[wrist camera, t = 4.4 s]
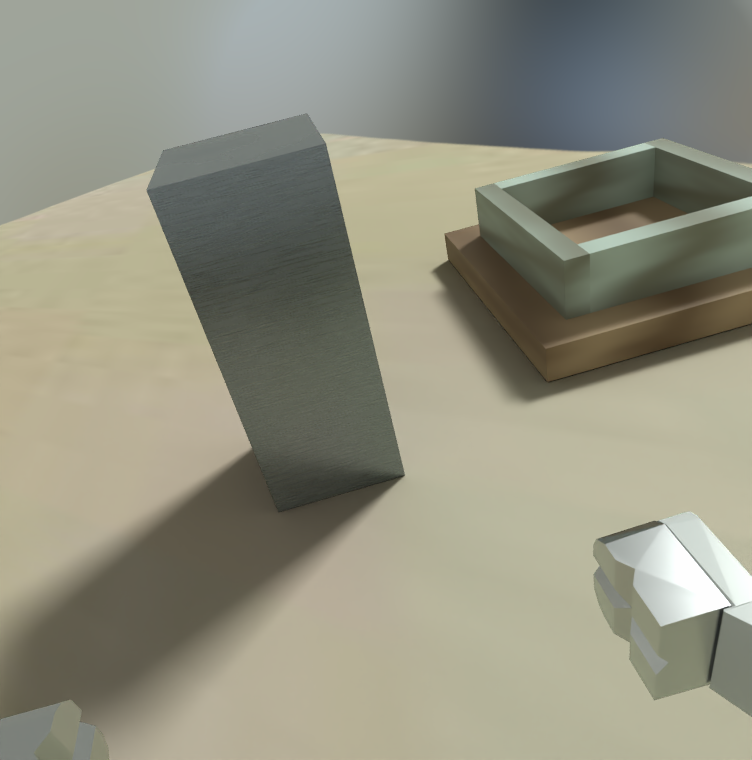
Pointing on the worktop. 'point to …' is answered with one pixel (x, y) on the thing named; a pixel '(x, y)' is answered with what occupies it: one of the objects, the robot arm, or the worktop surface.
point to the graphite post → (281, 304)
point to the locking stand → (613, 255)
